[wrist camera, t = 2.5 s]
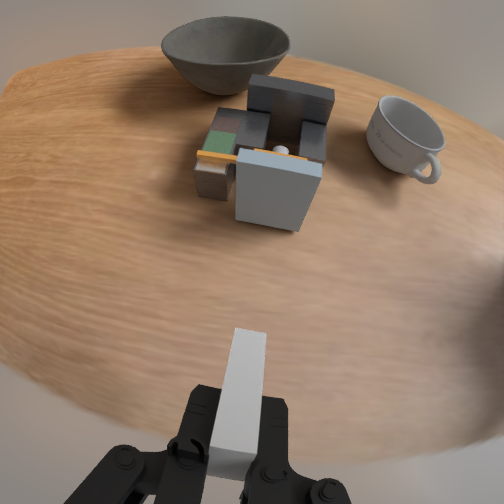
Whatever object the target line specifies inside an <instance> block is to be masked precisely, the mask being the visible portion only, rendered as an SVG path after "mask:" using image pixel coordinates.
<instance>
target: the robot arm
mask: <svg viewBox="0 0 504 504" xmlns="http://www.w3.org/2000/svg"><path fill="white" fill-rule="evenodd" d="M266 334H267V333H262V332H256V331H251V330H245V329H240V328H235V332H234V337H233V341H232V346H231V351H230V355H229V360H228V364H227V369H226V373H225V378H224V383H223V387H222V389H218V388H213V387H209V386H204V385H200V384H199V385H198V386H197V387H196V388H195V389H194V390H193V391H192V392H191V394H190V397H189V400H188V404H187V406H186V410H185V413H184V416H183V419H182V422H181V425H180V428H179V432H178V435H177V436H176V437H174V438H173V439H171V440H170V442H169V443H168V445H167V450H164V451H161V452H140V451H139V450H138V449H136V448H135V447H132V446H130V445H119V446H115V447H113V448H112V449H111V450H110V451H109V452H108V453H107V454H106V455H105V456H104V458H103V459H102V460H101V461H100V462H99V463H98V465H97V466H96V467H95V468H94V469H93V471H92V472H91V473H90V474H89V475H88V476H87V477H86V479H85V480H84V481H83V482H82V483H81V484H80V485H79V487H78V488H77V489H76V490H75V491H74V492H73V494H72V495H71V496H70V497H69V498H68V499H67V500H66V501H65V503H64V504H143V502H144V501H145V499H146V498H147V496H148V495H156V497H155V501H154V504H200V503H201V498H202V493H203V489H204V483H205V478H206V475H209V476H215V477H220V478H226V479H232V480H239V481H244V480H245V484H244V489H243V491H242V493H241V495H240V498H239V499H241V502H240V504H351V501H350V499H349V496H348V494H347V491H346V489H345V487H344V486H343V484H342V483H340V482H339V481H338V480H335V479H332V478H324V479H321V480H319V481H316V480H313V479H310V478H307V477H303V476H301V475H299V474H297V473H296V472H295V471H293V469H292V468H291V467H290V465H289V462H288V407H287V405H286V403H285V401H284V399H282V398H274V397H267V396H262V388H263V375H264V362H265V348H266Z"/></svg>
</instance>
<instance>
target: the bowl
mask: <svg viewBox="0 0 504 504" xmlns="http://www.w3.org/2000/svg"><path fill="white" fill-rule="evenodd" d="M161 48H162V51H163V53H164V55H165V56H166V57H167V58H168V59H169V60H170V61H171V63H172V64H173V65H174V66H175V67H176V69H177V70H178V71H179V73H180V74H181V75H182V76H183V77H184V78H185V79H187V80H188V81H189V82H190V83H191V84H193V85H194V86H196V87H197V88H199V89H201V90H203V91H206V92H209V93H211V94H215V95H232V94H236V93H240V92H242V91H245V90H247V89H248V84H249V81H250V78H251V76H252V74H258V75H265V76H268V75H269V74H270V73H271V72H272V71H273V70H274V68H275V67H276V66H277V65H278V64H279V62H280V61H281V60H282V59H283V58H284V57H285V55H286V54H287V53H288V51H289V50H290V39H289V36H288V35H287V34H286V33H285V32H284V31H283V30H282V29H281V28H279V27H277V26H275V25H273V24H270V23H267V22H265V21H261V20H257V19H251V18H243V17H228V16H224V17H212V18H205V19H200V20H196V21H193V22H191V23H188V24H185V25H183V26H181V27H178V28H176V29H174V30H173V31H171V32H170V33H169V34H168V35H166V36H165V38H164V39H163V41H162V44H161Z"/></svg>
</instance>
